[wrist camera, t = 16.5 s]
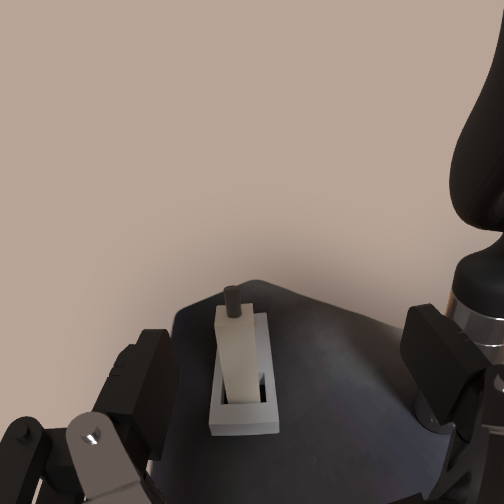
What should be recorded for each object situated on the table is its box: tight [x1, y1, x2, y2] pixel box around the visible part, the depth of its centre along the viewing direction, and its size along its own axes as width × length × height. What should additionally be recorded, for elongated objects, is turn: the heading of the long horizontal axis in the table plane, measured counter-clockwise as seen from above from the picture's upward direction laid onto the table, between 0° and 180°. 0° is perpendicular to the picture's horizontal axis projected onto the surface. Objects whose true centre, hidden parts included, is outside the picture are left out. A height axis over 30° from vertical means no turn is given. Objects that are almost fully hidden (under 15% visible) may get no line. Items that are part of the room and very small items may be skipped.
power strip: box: [209, 313, 279, 436], centre depth 43 cm, size 29×8×3 cm, turn 1°
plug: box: [214, 286, 261, 404], centre depth 33 cm, size 4×4×17 cm
